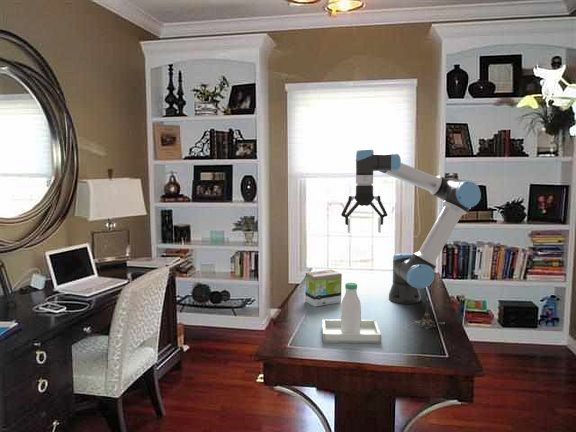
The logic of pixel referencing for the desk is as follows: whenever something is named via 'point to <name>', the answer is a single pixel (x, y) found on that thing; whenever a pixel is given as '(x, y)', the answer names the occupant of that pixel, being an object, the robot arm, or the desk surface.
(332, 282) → the tea box
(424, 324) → the eiffel tower figurine
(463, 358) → the desk surface
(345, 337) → the tray
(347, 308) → the milk bottle
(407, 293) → the robot arm
